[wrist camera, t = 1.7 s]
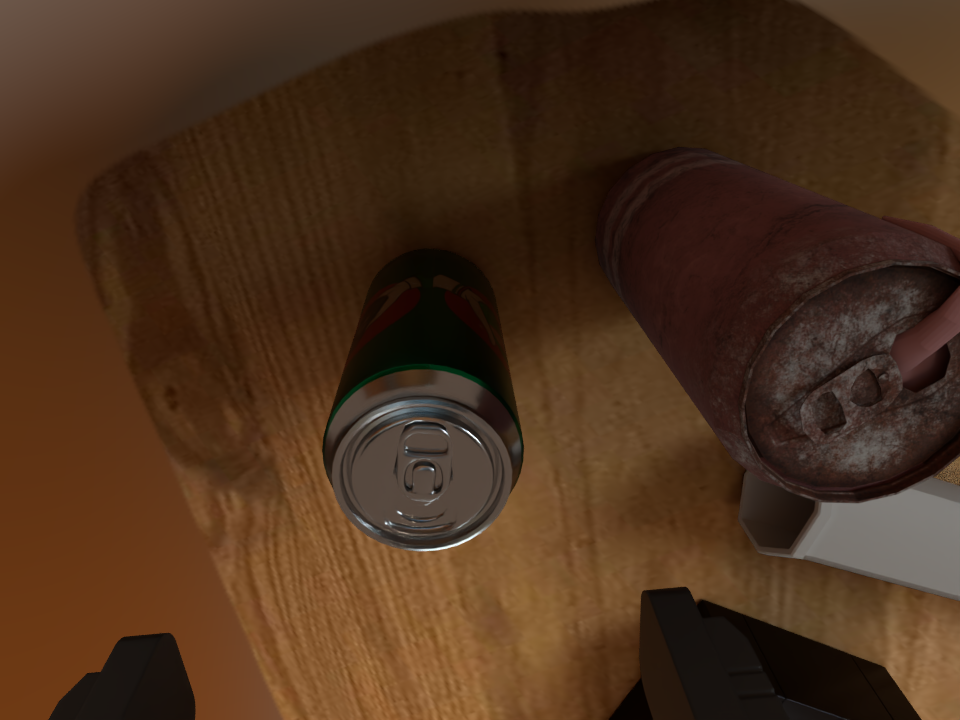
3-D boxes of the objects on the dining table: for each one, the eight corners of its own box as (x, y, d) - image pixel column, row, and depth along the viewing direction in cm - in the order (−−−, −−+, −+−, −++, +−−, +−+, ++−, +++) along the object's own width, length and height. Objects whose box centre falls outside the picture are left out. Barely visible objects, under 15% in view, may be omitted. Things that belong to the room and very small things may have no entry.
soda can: (365, 362, 28) (316, 561, 18) (367, 239, 26) (313, 378, 16) (489, 369, 29) (516, 568, 18) (501, 249, 27) (540, 391, 16)
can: (786, 176, 26) (1110, 301, 13) (701, 324, 29) (909, 552, 16) (642, 110, 25) (850, 179, 12) (566, 271, 27) (673, 469, 15)
